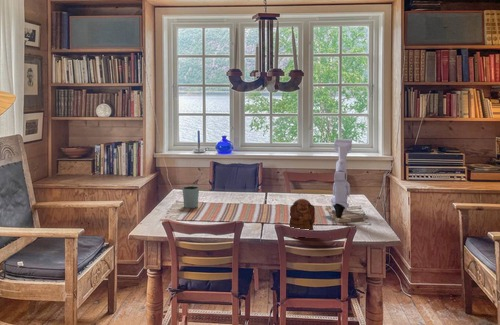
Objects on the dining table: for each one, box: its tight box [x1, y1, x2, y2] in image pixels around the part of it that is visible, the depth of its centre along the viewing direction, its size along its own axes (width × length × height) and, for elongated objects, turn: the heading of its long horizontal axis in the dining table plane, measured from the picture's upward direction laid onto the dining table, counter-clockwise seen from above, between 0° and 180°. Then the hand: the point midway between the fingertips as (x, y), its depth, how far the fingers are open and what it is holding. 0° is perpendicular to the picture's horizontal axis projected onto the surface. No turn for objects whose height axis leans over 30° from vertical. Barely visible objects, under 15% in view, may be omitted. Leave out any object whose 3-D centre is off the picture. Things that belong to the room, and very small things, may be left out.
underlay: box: [321, 214, 365, 224], centre depth 253 cm, size 16×18×1 cm
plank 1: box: [324, 206, 336, 215], centre depth 255 cm, size 7×8×2 cm
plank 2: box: [331, 215, 352, 224], centre depth 248 cm, size 7×8×2 cm
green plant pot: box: [181, 185, 200, 209], centre depth 277 cm, size 10×10×12 cm
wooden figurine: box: [288, 198, 316, 231], centre depth 220 cm, size 12×6×18 cm, turn 103°
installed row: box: [342, 210, 364, 222], centre depth 255 cm, size 15×8×2 cm, turn 22°
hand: (338, 217), depth 247 cm, fingers closed, pressing on plank 2
